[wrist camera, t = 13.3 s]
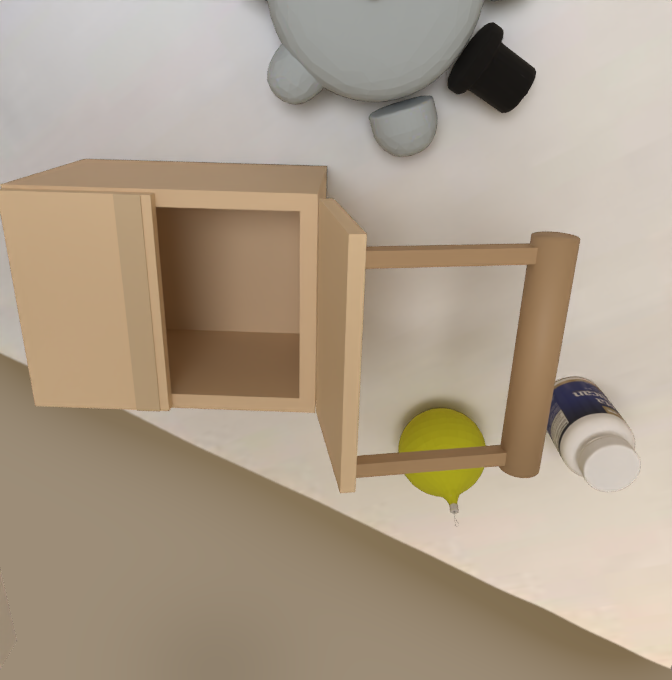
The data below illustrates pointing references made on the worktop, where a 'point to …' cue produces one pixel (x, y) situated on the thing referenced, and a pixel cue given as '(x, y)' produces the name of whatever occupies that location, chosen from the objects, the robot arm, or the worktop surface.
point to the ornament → (442, 433)
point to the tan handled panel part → (346, 345)
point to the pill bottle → (592, 435)
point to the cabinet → (168, 283)
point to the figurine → (393, 60)
